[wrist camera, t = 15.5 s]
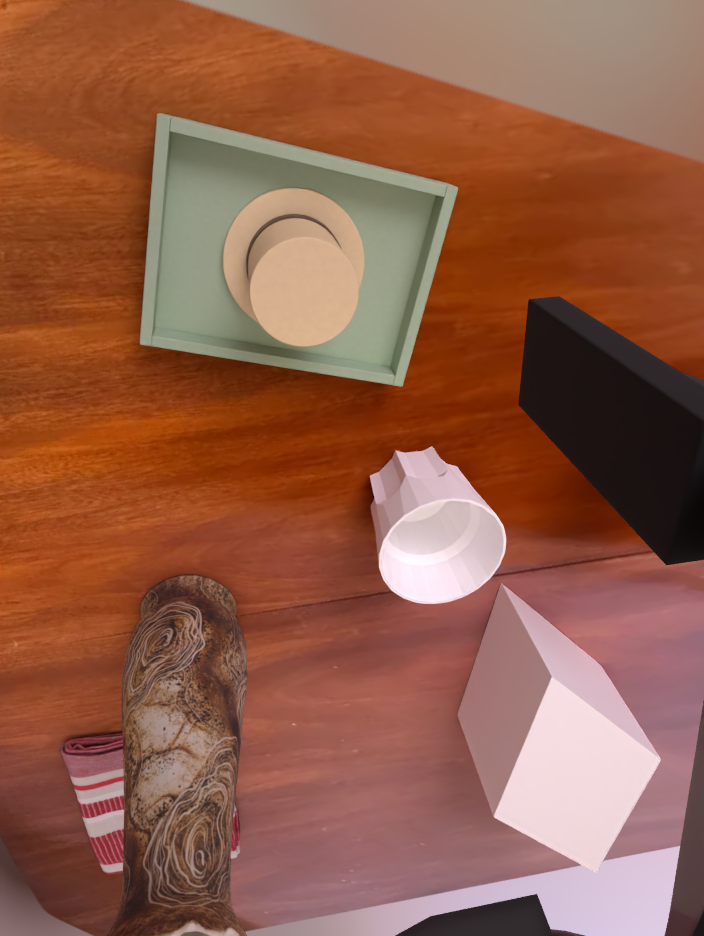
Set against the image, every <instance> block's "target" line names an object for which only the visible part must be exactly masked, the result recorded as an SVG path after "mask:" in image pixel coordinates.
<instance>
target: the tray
mask: <svg viewBox="0 0 704 936" xmlns="http://www.w3.org/2000/svg"><path fill="white" fill-rule="evenodd" d="M285 187H300V188H306V189H310V190H313V191H317V192H319V193H321V194H323V195H325V196H327V197H329V198H330V199H332V200H333V201H335V202H336V203H337V204H338V205H339V206H340V207H341V208H342V209H343V210H344V211H345V212H346V213H347V214H348V215H349V217H350V218H351V220H352V221H353V223H354V224H355V226H356V228H357V230H358V232H359V235H360V238H361V241H362V245H363V250H364V272H363V278H362V281H361V284H360V287H359V297H358V303H357V307H356V310H355V313H354V315H353V317H352V319H351V321H350V322H349V324H348V325H347V326H346V328H345V329H344V330H343V331H342V332H341V333H340V334H338V335H337V336H336V337H334V338H333V339H331V340H329V341H327V342H325V343H323V344H319V345H316V346H310V347H298V346H292V345H288V344H285V343H283V342H280V341H278V340H277V339H275V338H273V337H272V336H271V335H269V334H268V333H267V332H266V331H265V330H264V329H263V328H262V327H261V325H260V324H259V323H258V322H256V321H255V320H253V319H252V318H251V317H249V316H248V315H247V314H246V313H245V312H244V311H243V310H242V309H241V308H240V306H239V305H238V304H237V303H236V301H235V299H234V298H233V296H232V294H231V292H230V290H229V288H228V285H227V282H226V279H225V275H224V270H223V249H224V243H225V239H226V236H227V233H228V230H229V228H230V226H231V224H232V222H233V220H234V219H235V217H236V216H237V214H238V213H239V212H240V211H241V210H242V209H243V208H244V206H246V205H247V204H248V203H249V202H250V201H252V200H253V199H255V198H256V197H258V196H259V195H261V194H264V193H266V192H268V191H271V190H275V189H278V188H285ZM457 191H458V187H456V186H453V185H451V184H448V183H445V182H441V181H437V180H433V179H429V178H425V177H421V176H417V175H413V174H409V173H404V172H400V171H396V170H392V169H388V168H384V167H380V166H376V165H372V164H368V163H364V162H360V161H356V160H351V159H347V158H343V157H339V156H335V155H331V154H327V153H323V152H319V151H315V150H311V149H307V148H303V147H299V146H294V145H290V144H286V143H282V142H278V141H274V140H270V139H266V138H262V137H258V136H254V135H250V134H246V133H241V132H237V131H233V130H229V129H225V128H221V127H217V126H213V125H209V124H205V123H201V122H197V121H193V120H189V119H184V118H180V117H176V116H172V115H168V114H164V113H160V114H157V119H156V132H155V145H154V158H153V172H152V185H151V198H150V211H149V225H148V238H147V251H146V264H145V278H144V291H143V304H142V317H141V331H140V345H146V346H153V347H159V348H165V349H171V350H177V351H184V352H190V353H196V354H202V355H209V356H215V357H221V358H227V359H234V360H240V361H246V362H252V363H258V364H265V365H271V366H277V367H283V368H290V369H296V370H302V371H308V372H314V373H321V374H327V375H333V376H339V377H346V378H352V379H358V380H364V381H370V382H377V383H383V384H389V385H395V386H401V387H402V386H403V383H404V379H405V375H406V372H407V368H408V365H409V361H410V358H411V354H412V351H413V347H414V343H415V340H416V336H417V333H418V329H419V326H420V322H421V319H422V315H423V312H424V308H425V304H426V301H427V297H428V294H429V290H430V287H431V283H432V280H433V276H434V273H435V269H436V265H437V262H438V258H439V255H440V251H441V248H442V244H443V241H444V237H445V233H446V230H447V226H448V223H449V219H450V216H451V212H452V209H453V205H454V202H455V198H456V194H457Z"/></svg>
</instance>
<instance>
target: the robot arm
mask: <svg viewBox="0 0 704 936" xmlns="http://www.w3.org/2000/svg"><path fill="white" fill-rule="evenodd" d="M519 406H520V407H521V408H522V409H523V410H524V411H525V412H526V413H527V414H528V415H529V417H530V418H531V419H532V420H533V421H534V422H535V423H536V424H537V425H538V426H539V427H540V429H541V430H542V431H543V432H544V433H545V434H546V435H547V436H548V437H549V438H550V439H551V440H552V442H553V443H554V444H555V445H556V446H557V447H558V448H559V449H560V450H561V451H562V452H563V453H564V455H565V456H566V457H567V458H568V459H569V460H570V461H571V462H572V463H573V464H574V465H575V467H576V468H577V469H578V470H579V471H580V472H581V473H582V474H583V475H584V476H585V477H586V478H587V480H588V481H589V482H590V483H591V484H592V485H593V486H594V487H595V488H596V489H597V490H598V491H599V493H600V494H601V495H602V496H603V497H604V498H605V499H606V500H607V501H608V502H609V503H610V505H611V506H612V507H613V508H614V509H615V510H616V511H617V512H618V513H619V514H620V515H621V516H622V518H623V519H624V520H625V521H626V522H627V523H628V524H629V525H630V526H631V527H632V528H633V529H634V531H635V532H636V533H637V534H638V535H639V536H640V537H641V538H642V539H643V540H644V541H645V542H646V544H647V545H648V546H649V547H650V548H651V549H652V550H653V551H654V552H655V553H656V554H657V556H658V557H659V558H660V559H661V560H662V561H663V562H664V563H665V564H666V565H671V564H678V563H685V562H691V561H698V560H704V381H703V380H702V379H699V378H696V377H693V376H690V375H687V374H684V373H681V372H679V371H678V370H676V369H674V368H673V367H671V366H670V365H668V364H666V363H665V362H663V361H662V360H660V359H658V358H657V357H655V356H654V355H652V354H650V353H649V352H647V351H646V350H644V349H642V348H641V347H639V346H638V345H636V344H634V343H633V342H631V341H630V340H628V339H626V338H625V337H623V336H622V335H620V334H618V333H617V332H615V331H614V330H612V329H610V328H609V327H607V326H606V325H604V324H602V323H601V322H599V321H598V320H596V319H595V318H593V317H591V316H590V315H588V314H587V313H585V312H583V311H582V310H580V309H579V308H577V307H575V306H574V305H572V304H571V303H569V302H567V301H566V300H564V299H563V298H561V297H549V298H538V299H529V302H528V312H527V323H526V333H525V343H524V354H523V364H522V374H521V384H520V395H519ZM396 936H584V935H580V934H575V933H572V932H567V931H561V930H551V929H550V927H549V925H548V922H547V919H546V917H545V914H544V911H543V909H542V906H541V904H540V901H539V898H538V896H537V894H535V895H530V896H525V897H521V898H516V899H511V900H507V901H502V902H497V903H492V904H487V905H482V906H478V907H473V908H468V909H463V910H459V911H454V912H449V913H444V914H440V915H435V916H430V917H429V918H427V919H425V920H423V921H421V922H419V923H418V924H416V925H414V926H412V927H410V928H408V929H407V930H405V931H403V932H401V933H399V934H398V935H396ZM665 936H704V702H703V709H702V715H701V721H700V727H699V734H698V740H697V746H696V752H695V758H694V765H693V771H692V777H691V783H690V790H689V796H688V802H687V808H686V814H685V821H684V827H683V833H682V839H681V846H680V852H679V858H678V864H677V870H676V877H675V883H674V889H673V896H672V902H671V909H670V914H669V919H668V923H667V928H666V932H665Z"/></svg>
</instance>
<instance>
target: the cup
mask: <svg viewBox="0 0 704 936" xmlns="http://www.w3.org/2000/svg"><path fill="white" fill-rule="evenodd" d="M370 480H371V485H372V489H373V494H374V500H373V502H372V504H371V506H370V508H371V513H372V518H373V523H374V528H375V533H376V546H377V554H378V563H379V569H380V572H381V575H382V577H383V580H384V582H385V583H386V584H387V585H388V587H389V588H390V589H391V590H392V591H393V592H394V593H396V594H398V595H399V596H401V597H402V598H404V599H407V600H410V601H413V602H416V603H426V604H437V603H444V602H450V601H453V600H456V599H459V598H462V597H465V596H466V595H468V594H470V593H472V592H473V591H475V590H477V589H479V588H480V587H481V586H482V585H483V584H484V583H485V582H487V581H488V580H489V579H490V578H491V577H492V575H493V574H494V573H495V571H496V570H497V569H498V567H499V566H500V564H501V561H502V559H503V556H504V554H505V548H506V535H505V530H504V526H503V524H502V523H501V521H500V520H499V518H498V517H497V515H496V514H495V513H494V511H493V510H492V509H491V508H490V507H489V506H488V504H487V503H486V502H485V501H484V500H483V499H482V498H481V496H480V495H479V494H478V493H477V492H476V491H475V490H474V488H473V487H472V486H471V484H470V483H469V482H468V480H467V479H466V478H465V477H464V475H463V474H462V473H461V471H460V470H459V469H458V467H457V466H454V465H449V464H447V463H445V462H444V461H443V460H442V459H441V458H440V457H439V455H438V454H437V453H436V451H435V450H434V448H433V447H432V446H431V447H429V448H427V449H425V450H423V451H417V452H407V453H403V452H400V451H397V450H395V452H394V454H393V457H392V459H391V460H390V461H389V462H388V463H387V464H386V465H385V466H384V467H383V468H382V469H381V470H380V471H379V472H377V473H375V474H372V475H370Z"/></svg>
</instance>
